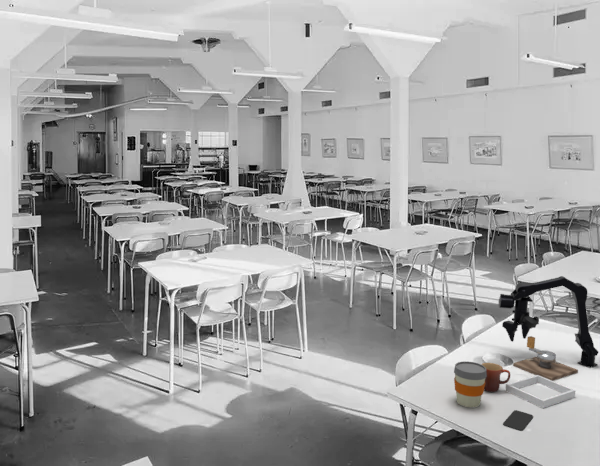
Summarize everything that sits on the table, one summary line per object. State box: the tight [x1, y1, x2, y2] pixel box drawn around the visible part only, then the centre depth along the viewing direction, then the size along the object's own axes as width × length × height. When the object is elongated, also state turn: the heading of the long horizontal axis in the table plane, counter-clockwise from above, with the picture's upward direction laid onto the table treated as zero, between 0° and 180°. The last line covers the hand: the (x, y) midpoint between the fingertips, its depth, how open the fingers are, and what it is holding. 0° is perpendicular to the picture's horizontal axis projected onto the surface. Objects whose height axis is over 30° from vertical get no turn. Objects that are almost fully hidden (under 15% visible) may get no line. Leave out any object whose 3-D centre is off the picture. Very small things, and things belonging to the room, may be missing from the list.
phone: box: [502, 409, 534, 432], centre depth 206 cm, size 7×1×15 cm
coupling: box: [526, 335, 557, 363], centre depth 258 cm, size 14×8×8 cm, turn 27°
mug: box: [480, 362, 511, 393], centre depth 232 cm, size 12×9×10 cm
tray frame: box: [504, 375, 576, 409], centre depth 230 cm, size 21×18×3 cm
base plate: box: [512, 356, 579, 381], centre depth 256 cm, size 20×20×4 cm
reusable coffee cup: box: [453, 360, 487, 409], centre depth 220 cm, size 13×13×15 cm
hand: (518, 339), depth 268 cm, fingers open, 9 cm apart
